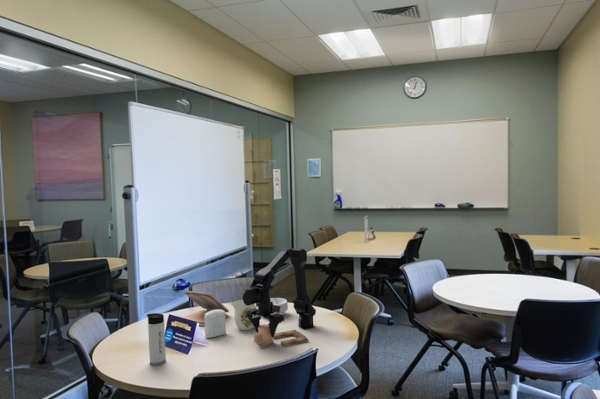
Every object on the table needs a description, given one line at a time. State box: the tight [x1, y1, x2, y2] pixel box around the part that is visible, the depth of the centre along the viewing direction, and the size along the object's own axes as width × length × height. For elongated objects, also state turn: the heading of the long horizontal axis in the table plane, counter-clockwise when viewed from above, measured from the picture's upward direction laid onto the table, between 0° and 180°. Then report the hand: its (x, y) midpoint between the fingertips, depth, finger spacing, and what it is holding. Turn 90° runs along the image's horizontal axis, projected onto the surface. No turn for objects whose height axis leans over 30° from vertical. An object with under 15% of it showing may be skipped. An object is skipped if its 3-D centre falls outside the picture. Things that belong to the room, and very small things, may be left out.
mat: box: [255, 341, 277, 350], centre depth 193 cm, size 7×9×1 cm
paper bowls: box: [270, 297, 289, 316], centre depth 235 cm, size 15×15×8 cm
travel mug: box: [146, 312, 167, 366], centre depth 177 cm, size 6×7×20 cm
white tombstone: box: [204, 310, 227, 339], centre depth 206 cm, size 10×4×12 cm, turn 123°
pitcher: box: [228, 299, 263, 331], centre depth 216 cm, size 11×18×14 cm, turn 115°
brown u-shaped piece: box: [273, 329, 309, 348], centre depth 198 cm, size 12×14×2 cm
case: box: [183, 290, 230, 327], centre depth 234 cm, size 20×21×16 cm
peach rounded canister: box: [253, 323, 274, 346], centre depth 192 cm, size 10×7×8 cm
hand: (265, 334), depth 193 cm, fingers open, 9 cm apart
